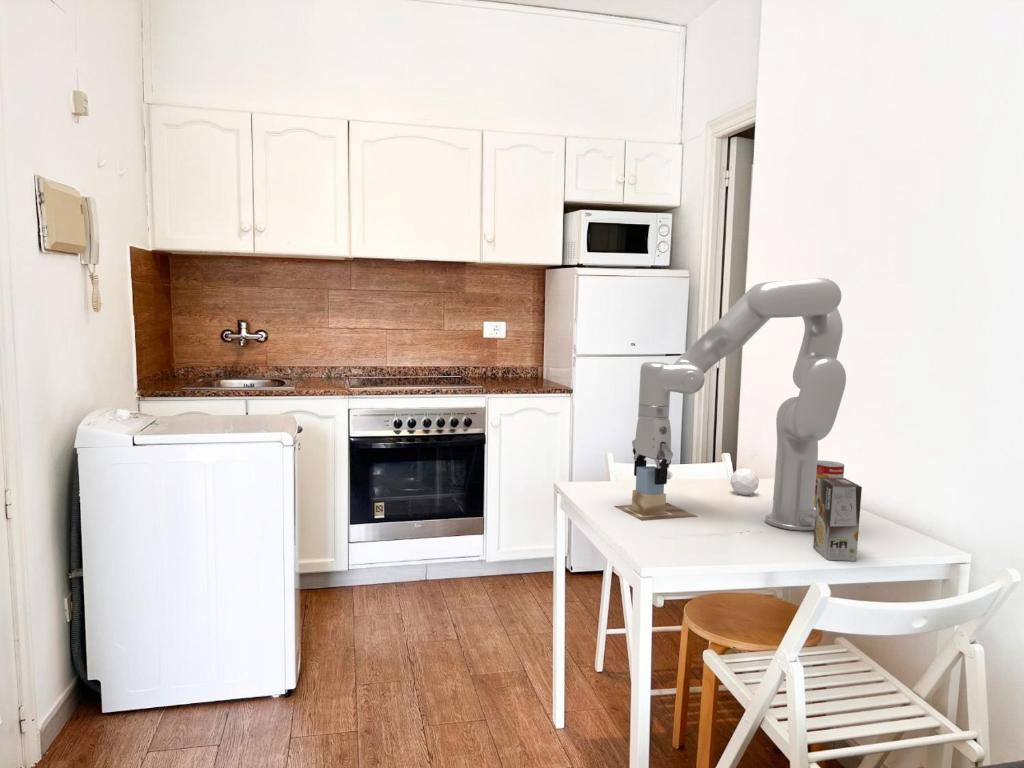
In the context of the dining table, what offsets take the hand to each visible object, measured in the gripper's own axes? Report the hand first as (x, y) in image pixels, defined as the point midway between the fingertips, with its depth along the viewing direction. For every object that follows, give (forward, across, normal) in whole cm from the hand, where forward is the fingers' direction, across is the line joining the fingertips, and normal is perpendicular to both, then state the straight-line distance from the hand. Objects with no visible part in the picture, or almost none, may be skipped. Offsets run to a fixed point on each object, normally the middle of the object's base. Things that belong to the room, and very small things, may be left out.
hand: (649, 479), depth 188 cm
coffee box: (+10, -37, -24) cm, 45 cm away
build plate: (+9, 0, -2) cm, 10 cm away
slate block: (+3, 0, 0) cm, 3 cm away
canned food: (+10, -2, -55) cm, 56 cm away
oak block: (+8, 0, 0) cm, 8 cm away
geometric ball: (+10, +15, -41) cm, 45 cm away
